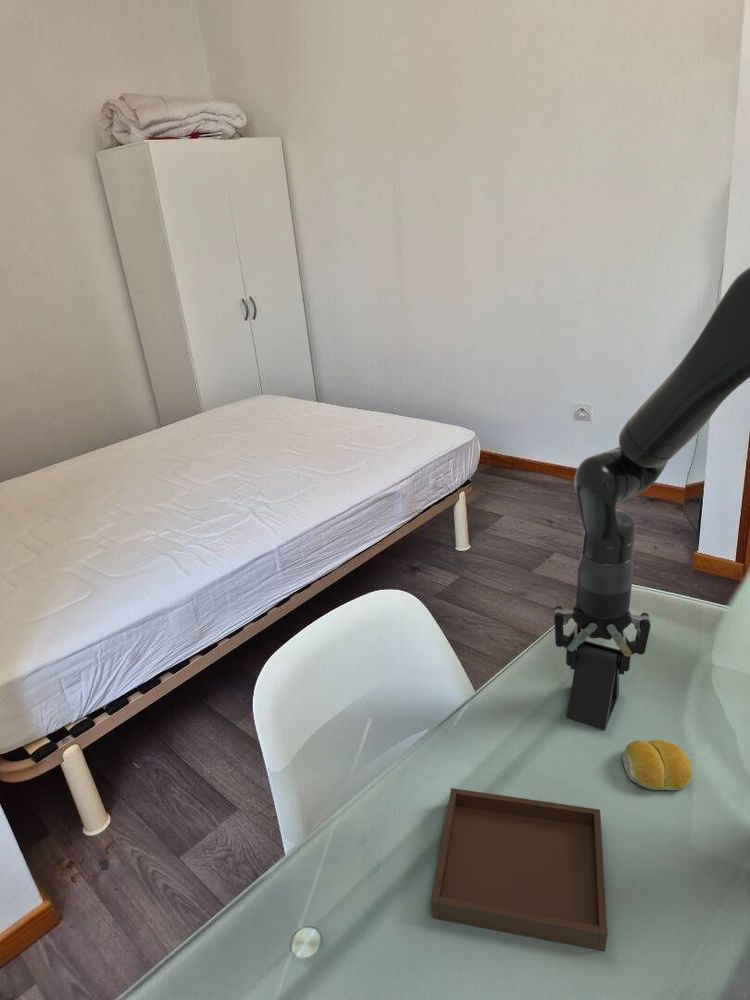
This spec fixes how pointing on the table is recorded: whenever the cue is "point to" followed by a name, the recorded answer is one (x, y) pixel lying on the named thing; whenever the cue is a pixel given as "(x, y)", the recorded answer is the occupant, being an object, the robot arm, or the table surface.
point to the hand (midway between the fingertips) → (596, 668)
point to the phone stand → (594, 684)
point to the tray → (522, 868)
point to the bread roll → (657, 765)
